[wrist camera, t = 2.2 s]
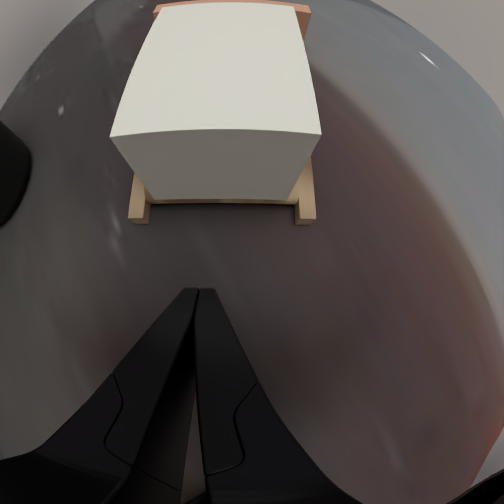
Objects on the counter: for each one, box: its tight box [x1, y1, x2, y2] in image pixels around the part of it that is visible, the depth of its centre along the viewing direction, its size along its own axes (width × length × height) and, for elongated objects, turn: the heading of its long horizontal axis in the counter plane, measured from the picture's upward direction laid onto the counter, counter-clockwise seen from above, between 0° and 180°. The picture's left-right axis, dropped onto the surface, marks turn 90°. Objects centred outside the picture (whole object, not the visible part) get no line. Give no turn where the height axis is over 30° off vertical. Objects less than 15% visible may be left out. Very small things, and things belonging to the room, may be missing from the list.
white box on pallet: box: [110, 2, 322, 200], centre depth 15 cm, size 12×9×8 cm
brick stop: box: [153, 0, 311, 41], centre depth 21 cm, size 2×16×6 cm, turn 90°
